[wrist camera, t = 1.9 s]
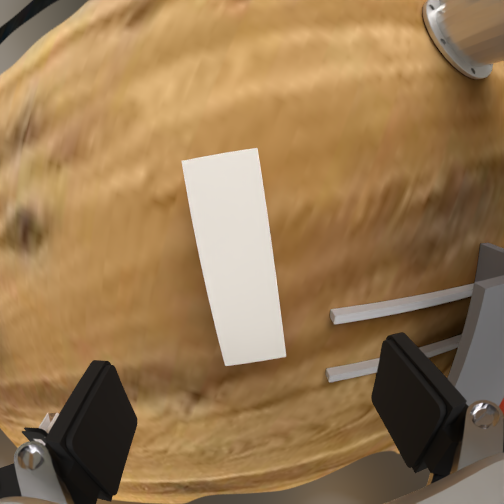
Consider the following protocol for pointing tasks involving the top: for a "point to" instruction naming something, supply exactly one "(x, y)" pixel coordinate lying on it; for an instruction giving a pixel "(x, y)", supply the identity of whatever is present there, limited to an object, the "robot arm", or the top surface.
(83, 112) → the top surface
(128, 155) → the top surface
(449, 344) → the overhang shelf
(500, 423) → the robot arm
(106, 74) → the top surface
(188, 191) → the cream rectangular prism
